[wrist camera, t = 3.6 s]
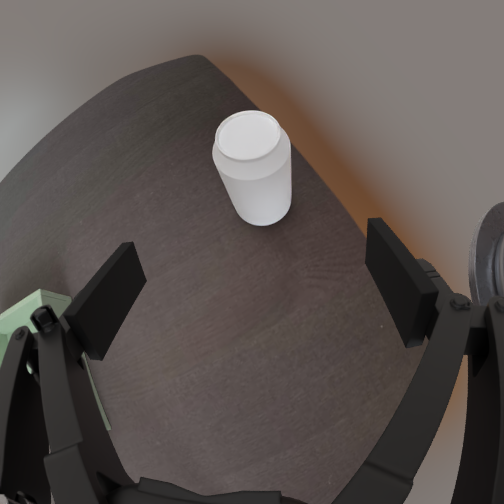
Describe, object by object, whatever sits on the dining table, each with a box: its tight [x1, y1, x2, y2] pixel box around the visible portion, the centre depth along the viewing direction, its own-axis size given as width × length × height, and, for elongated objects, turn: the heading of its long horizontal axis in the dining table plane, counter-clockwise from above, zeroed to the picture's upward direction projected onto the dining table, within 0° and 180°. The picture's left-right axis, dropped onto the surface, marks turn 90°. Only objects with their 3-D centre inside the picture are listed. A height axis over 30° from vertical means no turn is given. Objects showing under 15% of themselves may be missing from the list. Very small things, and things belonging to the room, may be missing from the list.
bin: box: [0, 289, 111, 430], centre depth 26 cm, size 18×18×6 cm
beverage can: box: [212, 110, 291, 226], centre depth 25 cm, size 6×6×12 cm
